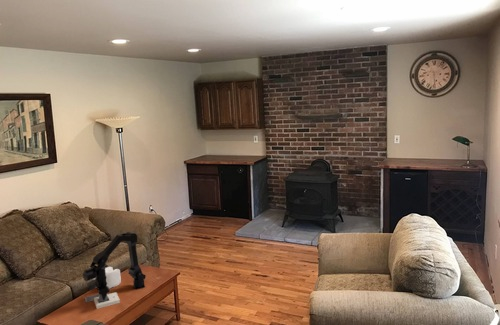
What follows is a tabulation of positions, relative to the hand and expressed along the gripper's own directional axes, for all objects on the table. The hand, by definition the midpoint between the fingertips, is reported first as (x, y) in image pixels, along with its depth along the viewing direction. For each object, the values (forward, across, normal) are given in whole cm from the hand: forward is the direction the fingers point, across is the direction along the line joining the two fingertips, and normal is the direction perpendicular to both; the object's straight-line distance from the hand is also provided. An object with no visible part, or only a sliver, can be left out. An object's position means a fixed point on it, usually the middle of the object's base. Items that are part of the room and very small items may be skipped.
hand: (103, 298), depth 254 cm
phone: (+4, -10, -3) cm, 11 cm away
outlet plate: (+3, 0, +2) cm, 4 cm away
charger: (+1, 0, 0) cm, 1 cm away
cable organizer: (+3, -23, +6) cm, 24 cm away
